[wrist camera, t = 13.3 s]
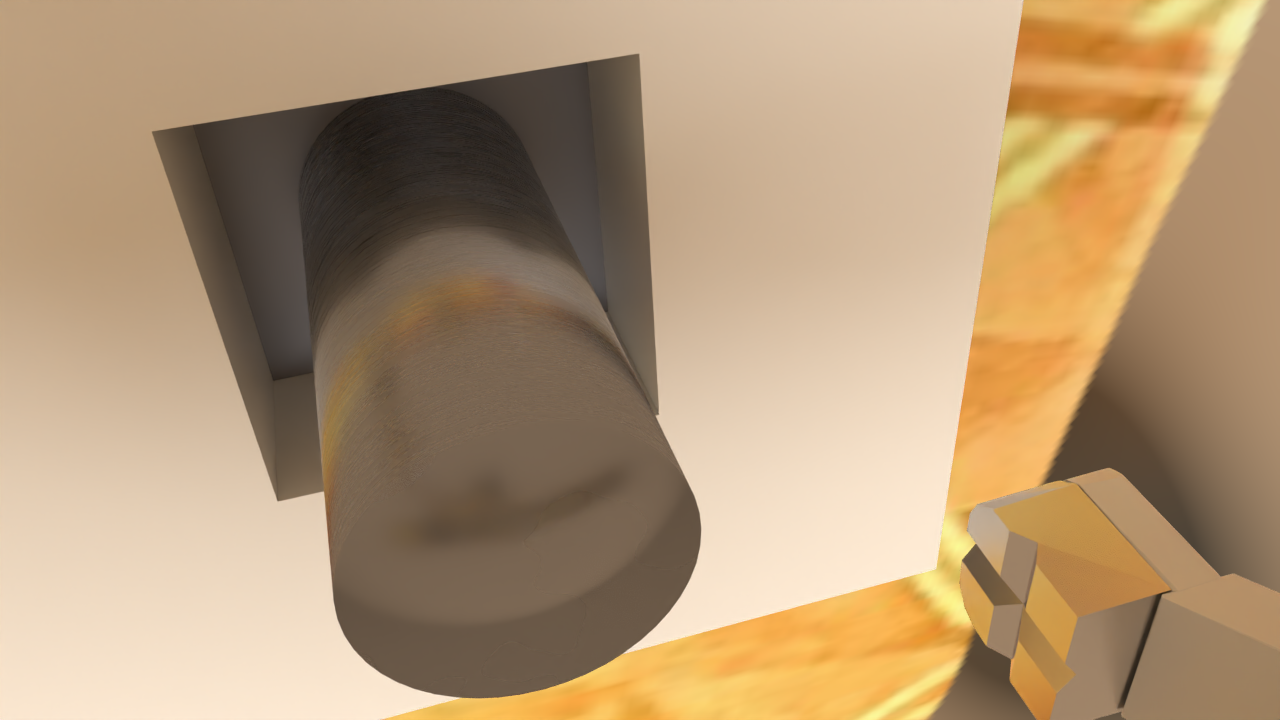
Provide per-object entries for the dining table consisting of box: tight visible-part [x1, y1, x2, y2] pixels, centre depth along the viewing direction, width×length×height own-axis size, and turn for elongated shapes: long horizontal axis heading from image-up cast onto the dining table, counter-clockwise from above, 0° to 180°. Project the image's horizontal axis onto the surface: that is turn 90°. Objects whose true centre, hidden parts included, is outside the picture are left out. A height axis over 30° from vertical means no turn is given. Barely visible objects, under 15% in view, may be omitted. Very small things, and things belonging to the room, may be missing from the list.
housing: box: [0, 0, 1024, 720], centre depth 19 cm, size 20×20×4 cm
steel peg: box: [299, 87, 701, 698], centre depth 17 cm, size 4×4×10 cm
